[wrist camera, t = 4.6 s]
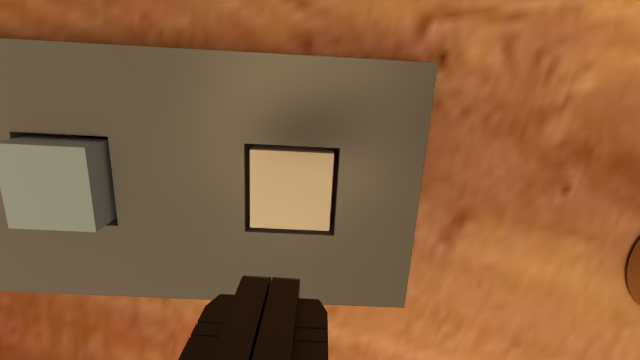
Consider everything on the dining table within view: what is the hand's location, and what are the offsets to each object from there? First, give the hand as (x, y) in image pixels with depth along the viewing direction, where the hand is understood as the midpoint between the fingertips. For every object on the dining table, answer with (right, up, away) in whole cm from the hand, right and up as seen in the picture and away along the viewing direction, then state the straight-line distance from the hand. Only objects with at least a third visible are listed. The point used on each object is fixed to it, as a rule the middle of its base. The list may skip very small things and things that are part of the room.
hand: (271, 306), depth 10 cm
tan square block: (0, +3, +12) cm, 13 cm away
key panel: (-6, +4, +14) cm, 16 cm away
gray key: (-12, +4, +10) cm, 17 cm away
